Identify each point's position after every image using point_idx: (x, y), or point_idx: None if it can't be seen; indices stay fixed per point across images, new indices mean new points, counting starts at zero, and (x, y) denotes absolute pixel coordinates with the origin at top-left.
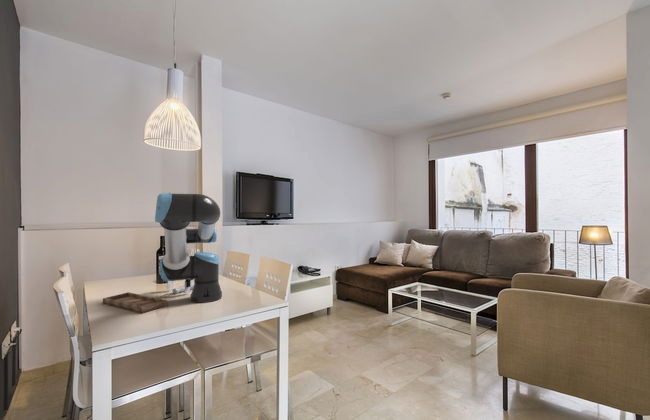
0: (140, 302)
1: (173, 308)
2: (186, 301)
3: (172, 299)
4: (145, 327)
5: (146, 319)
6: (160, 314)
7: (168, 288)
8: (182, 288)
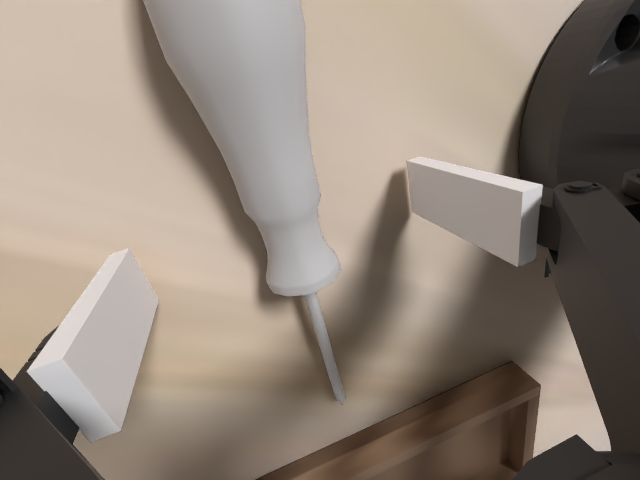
0: (383, 477)
1: (570, 343)
2: (546, 257)
3: (433, 315)
4: None
5: (571, 435)
6: (576, 395)
7: (154, 311)
8: (318, 199)
